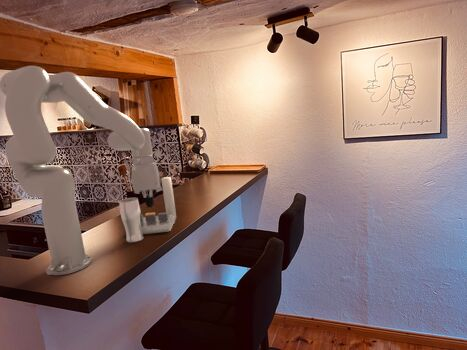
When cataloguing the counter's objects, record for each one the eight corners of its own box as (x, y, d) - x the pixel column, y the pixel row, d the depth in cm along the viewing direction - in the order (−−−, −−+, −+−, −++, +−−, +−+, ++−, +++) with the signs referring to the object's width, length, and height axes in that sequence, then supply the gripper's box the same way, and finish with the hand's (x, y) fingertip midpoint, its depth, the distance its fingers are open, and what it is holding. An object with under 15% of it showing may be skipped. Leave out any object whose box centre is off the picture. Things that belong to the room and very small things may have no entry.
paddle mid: (155, 221, 133) (154, 213, 133) (146, 221, 133) (144, 214, 133) (156, 219, 135) (155, 212, 135) (147, 220, 135) (146, 213, 135)
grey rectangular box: (167, 219, 133) (166, 213, 133) (158, 220, 133) (157, 214, 133) (168, 218, 135) (167, 212, 135) (159, 219, 135) (158, 213, 135)
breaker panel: (169, 231, 129) (168, 223, 129) (128, 235, 129) (127, 227, 129) (175, 221, 141) (174, 214, 140) (136, 225, 141) (135, 217, 141)
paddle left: (142, 222, 133) (141, 216, 133) (133, 223, 133) (132, 217, 133) (143, 220, 135) (142, 214, 135) (134, 221, 135) (133, 215, 135)
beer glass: (138, 234, 129) (132, 196, 127) (148, 238, 124) (142, 198, 122) (121, 240, 125) (115, 201, 122) (130, 244, 120) (124, 203, 117)
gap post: (175, 220, 143) (169, 178, 140) (166, 220, 143) (160, 179, 140) (177, 217, 147) (171, 176, 144) (168, 218, 147) (162, 177, 144)
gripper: (121, 164, 127) (128, 211, 130) (160, 160, 126) (167, 207, 130) (127, 161, 134) (134, 205, 137) (164, 157, 134) (170, 202, 137)
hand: (150, 206), depth 134 cm, fingers closed
